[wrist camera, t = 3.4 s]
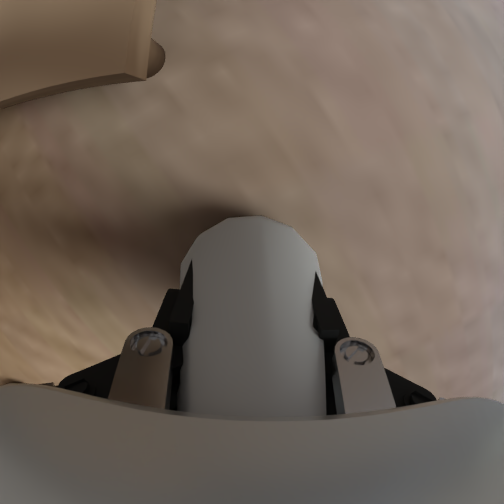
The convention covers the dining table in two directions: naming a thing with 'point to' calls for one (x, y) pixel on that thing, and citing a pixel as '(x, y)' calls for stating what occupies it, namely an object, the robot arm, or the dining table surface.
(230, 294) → the salt shaker
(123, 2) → the small wooden table
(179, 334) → the robot arm
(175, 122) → the dining table surface
